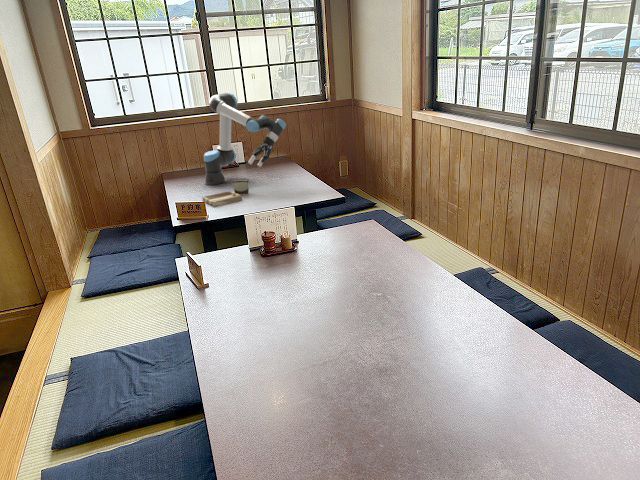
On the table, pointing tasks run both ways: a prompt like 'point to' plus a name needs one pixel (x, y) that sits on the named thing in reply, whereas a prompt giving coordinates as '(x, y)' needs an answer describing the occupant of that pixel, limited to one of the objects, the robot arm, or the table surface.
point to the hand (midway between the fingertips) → (254, 164)
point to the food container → (241, 186)
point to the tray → (222, 198)
